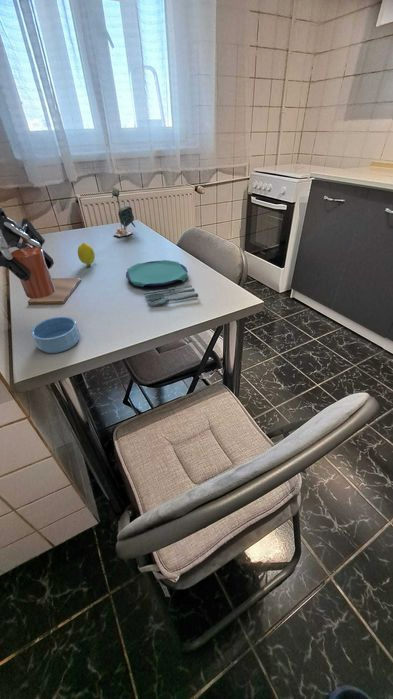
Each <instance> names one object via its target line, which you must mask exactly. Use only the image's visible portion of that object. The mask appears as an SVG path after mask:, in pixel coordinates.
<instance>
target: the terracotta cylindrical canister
mask: <svg viewBox="0 0 393 699" xmlns="http://www.w3.org/2000/svg"><path fill="white" fill-rule="evenodd" d="M42 249H43V248H42ZM42 249H41V248H37V247H33V246H30V247H29V248H22V249H19V248H17V249H15V250H13V251H10V253H11V255H12V257H13V259H16V260H17V261H18V262H19V263H20V264H22V265H23V266H24V267H25V268H26V269H27V270H28V271H29V272H30V273H31V276H30V278H29V279H28V280H26V281H24V280H23V279H19V281H20V284H21V286H22V289H23V291H24V293H25V297H27V298H28V299H31V298H33V299H37V298H43V297H47V296H49V295H51V294H53V293H54V292H55V287H54V284H53V281H52V278H53V277H52V275H51V272H50V269H48V266H47V263H46V260H45V257H44V254H43V251H42Z"/></svg>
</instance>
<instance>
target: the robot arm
mask: <svg viewBox="0 0 393 699" xmlns="http://www.w3.org/2000/svg"><path fill="white" fill-rule="evenodd" d="M21 240H22V241H21ZM45 242H46V240H45V239H44V238H43V236H42V235H41V233H39V231H38V230H37V228H36V227H35V226H34V225H33V224H32V223H31V221H30V220H29V219H28V218H26V217H25V218H22V220H21V221H14V220H13V219H11V218H9V217H8V216H7V215H6V213H5V211H4V209H3V207H1V206H0V268H1V267H3V268H6V269H8V270H9V271H11V273H12V274H13V275H14V276H15V277H17V279H19V280H20V279H23V280H24V281H26V280H28V279H29V278H30V276H31V273H30V272H29V271H28V270H27V269H26V268H25V267H24V266H23V265H22V264H20V263H19V262H18V261H17V260H16V259H13V257H12V255H11V251H10V248H17V249H22V248H29V247H37V248H41V249H42V251H43V254H44V257H45V260H46V263H47V266H48V269H49V270H51V269H52V267H53V266H54V264H55V261H54V259H53V257H51V256H50V255H49V254H48V253H47V252H46V251H45V250H44V249H43V248H42V247H43V246H44V244H45Z"/></svg>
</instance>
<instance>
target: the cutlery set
mask: <svg viewBox="0 0 393 699" xmlns="http://www.w3.org/2000/svg"><path fill="white" fill-rule="evenodd" d="M126 270H127V271H126V272H125V278H126V279H127V280H128V282H131V284H132V285H133V286H137V287H142V288H143V287H144V286H145V287H146V286H148V287H158V286H159V287H160V286H166V285H170V284H173V283H176V282H178V281H179V282H180V281H182V283H184V282H185V281H186V280H187V279H188V269H187V267H186V266H185V265H183V264H182V263H180V261H175V260H167V259H163V260H154V261H153V260H152V261H146V262H140V263H136V264H134V265H131V266H130V267H128V268H127V269H126ZM192 287H193V286H192V285H187V286H178V287H173V286H172V287H168V288H165V289H155V290H150V291H146V292H144V293H143V295H144V296H145V300H149V301H150V302H147V306H150V307H151V306H152V307H153V306H156V305H158V306H159V305H166V304H169V303H170V302H174V301H183V300H188V299H194V298H198V297H199V293H195V290H196V289H195V288H194V287H193V288H192ZM186 288H187V289H186ZM179 289H181V290H179ZM182 289H183V290H182ZM176 290H179V291H176ZM171 291H174V292H171ZM164 292H165V293H166V292H168V293H167V294H165V293H164ZM193 292H194V293H193ZM185 293H193V294H188V295H184V296H179V297H172V298H171V297H170V298H169V296H174V295H177V294H185ZM165 297H166V298H165Z"/></svg>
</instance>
